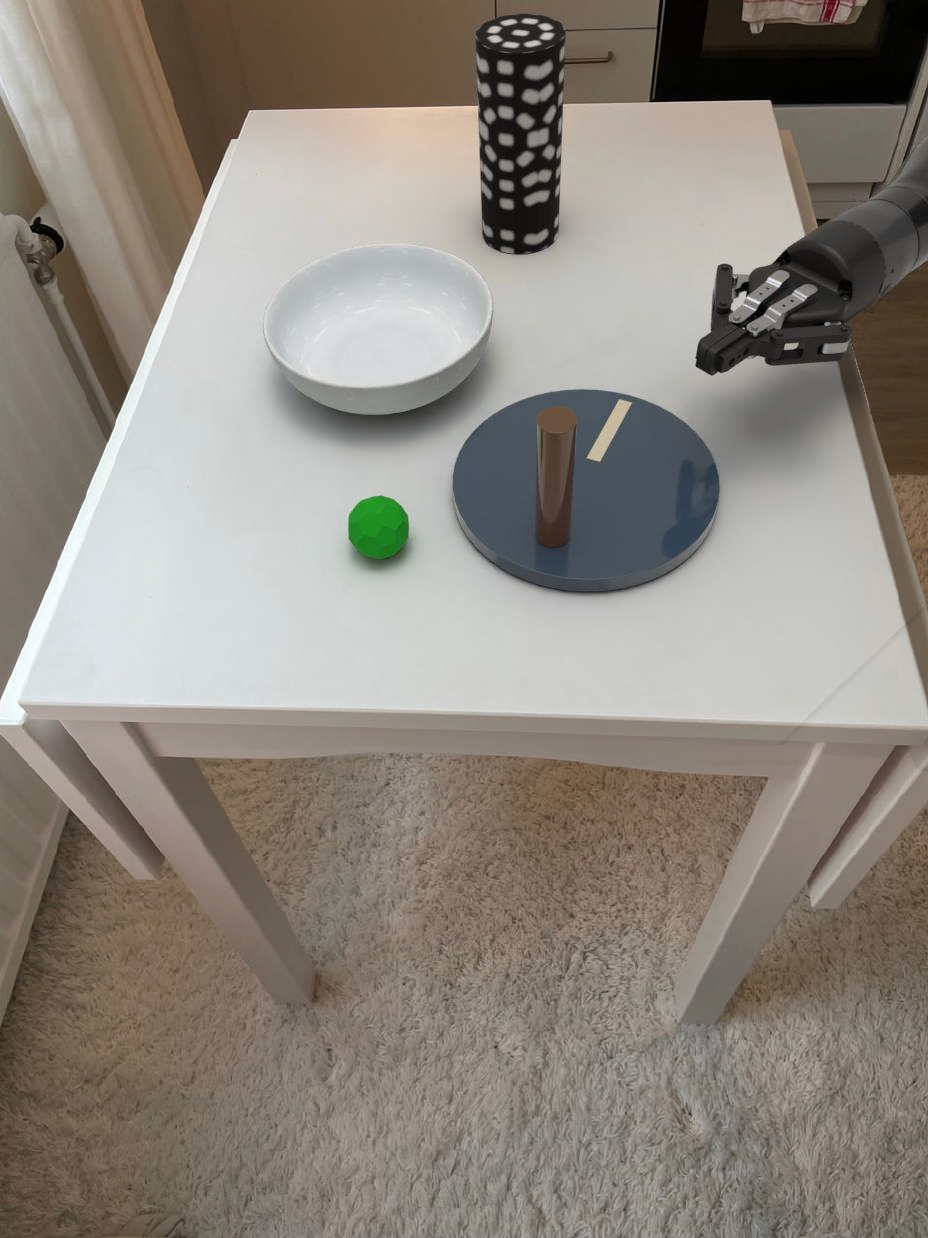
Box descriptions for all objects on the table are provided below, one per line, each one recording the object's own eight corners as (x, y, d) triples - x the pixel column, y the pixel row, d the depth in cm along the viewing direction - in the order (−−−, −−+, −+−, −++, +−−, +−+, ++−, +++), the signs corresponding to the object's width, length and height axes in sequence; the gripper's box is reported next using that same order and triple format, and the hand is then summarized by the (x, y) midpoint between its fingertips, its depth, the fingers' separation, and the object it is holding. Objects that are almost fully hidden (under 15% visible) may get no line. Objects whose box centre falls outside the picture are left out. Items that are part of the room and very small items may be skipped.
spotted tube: (471, 246, 103) (461, 46, 87) (498, 206, 107) (494, 9, 91) (544, 259, 101) (548, 57, 85) (568, 218, 105) (577, 18, 89)
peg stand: (516, 377, 89) (515, 246, 78) (748, 439, 83) (782, 306, 72) (408, 541, 78) (389, 414, 67) (668, 628, 71) (694, 503, 60)
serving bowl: (238, 361, 93) (220, 301, 88) (414, 278, 100) (407, 217, 94) (353, 480, 83) (340, 419, 77) (540, 378, 89) (541, 316, 84)
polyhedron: (414, 567, 76) (408, 527, 73) (352, 573, 76) (344, 533, 73) (409, 521, 79) (404, 480, 76) (351, 527, 79) (342, 487, 75)
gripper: (788, 190, 77) (642, 280, 71) (935, 255, 71) (789, 360, 64) (769, 273, 83) (633, 362, 77) (902, 340, 77) (766, 443, 70)
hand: (704, 361), depth 70 cm, fingers closed
